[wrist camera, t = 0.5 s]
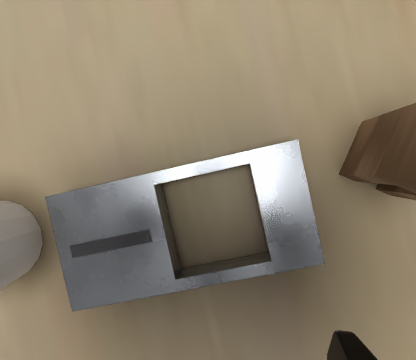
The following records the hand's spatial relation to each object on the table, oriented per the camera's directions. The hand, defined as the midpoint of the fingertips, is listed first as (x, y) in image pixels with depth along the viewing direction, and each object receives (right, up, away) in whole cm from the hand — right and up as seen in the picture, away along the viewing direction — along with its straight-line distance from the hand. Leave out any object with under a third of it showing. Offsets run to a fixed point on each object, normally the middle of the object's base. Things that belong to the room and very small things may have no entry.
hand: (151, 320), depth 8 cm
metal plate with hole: (0, +1, +13) cm, 13 cm away
